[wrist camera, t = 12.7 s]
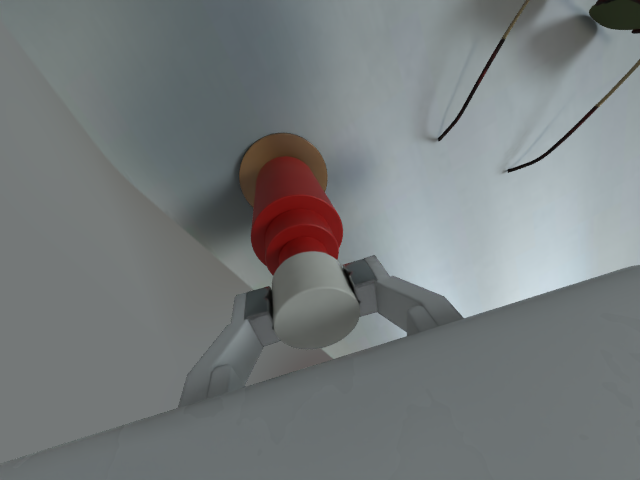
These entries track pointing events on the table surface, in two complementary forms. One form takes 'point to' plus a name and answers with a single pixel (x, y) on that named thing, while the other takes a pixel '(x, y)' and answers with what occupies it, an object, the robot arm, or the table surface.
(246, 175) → the coaster
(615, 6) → the sunglasses
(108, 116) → the table surface
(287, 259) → the sauce bottle
